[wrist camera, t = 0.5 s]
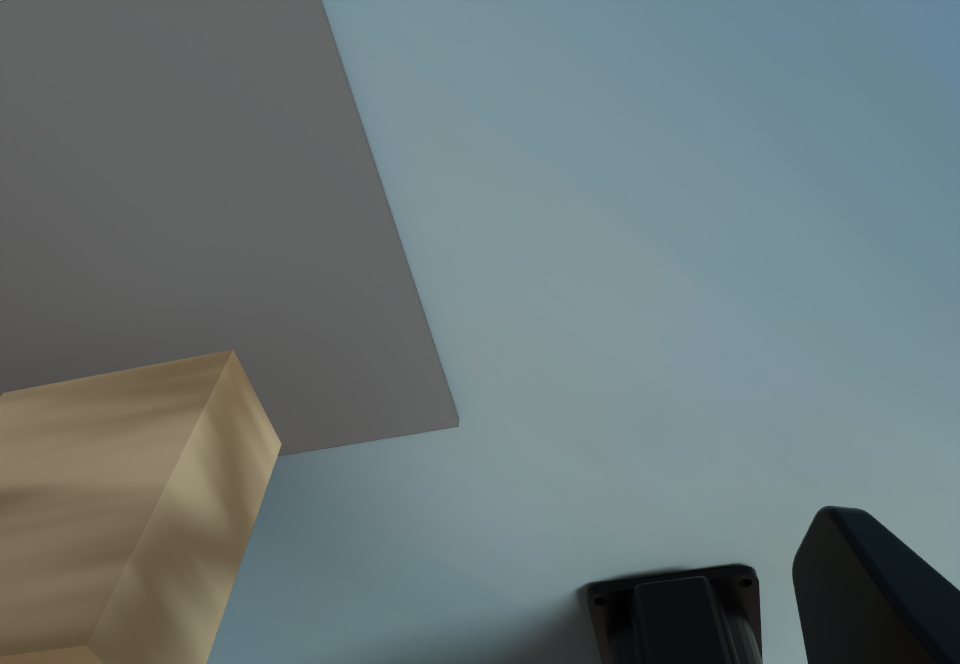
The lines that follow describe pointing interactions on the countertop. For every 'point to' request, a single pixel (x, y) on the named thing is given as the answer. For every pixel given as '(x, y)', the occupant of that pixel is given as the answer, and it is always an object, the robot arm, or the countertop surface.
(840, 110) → the countertop surface
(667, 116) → the countertop surface
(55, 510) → the maple block
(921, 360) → the countertop surface
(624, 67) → the countertop surface
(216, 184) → the mat
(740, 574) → the robot arm
